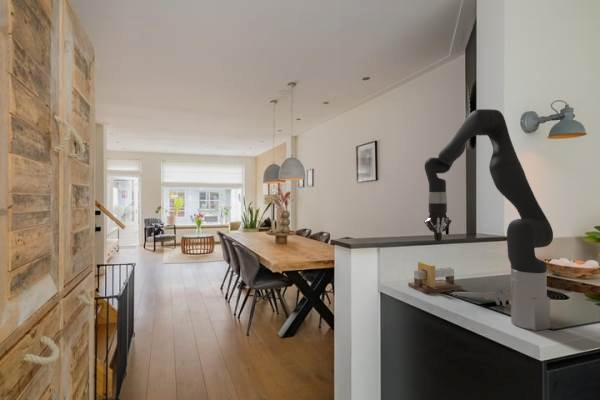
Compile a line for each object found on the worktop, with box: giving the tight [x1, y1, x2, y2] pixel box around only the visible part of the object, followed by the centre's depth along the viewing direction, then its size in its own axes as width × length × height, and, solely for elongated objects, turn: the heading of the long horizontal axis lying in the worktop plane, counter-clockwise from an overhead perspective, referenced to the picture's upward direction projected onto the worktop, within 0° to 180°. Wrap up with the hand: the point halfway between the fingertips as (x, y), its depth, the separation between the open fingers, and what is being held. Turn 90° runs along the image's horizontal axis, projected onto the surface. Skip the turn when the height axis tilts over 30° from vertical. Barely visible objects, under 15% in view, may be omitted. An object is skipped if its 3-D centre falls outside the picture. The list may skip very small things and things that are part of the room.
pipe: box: [413, 267, 455, 279], centre depth 145 cm, size 3×18×3 cm, turn 106°
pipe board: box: [407, 275, 463, 295], centre depth 146 cm, size 12×18×5 cm, turn 106°
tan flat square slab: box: [417, 261, 436, 287], centre depth 144 cm, size 9×2×9 cm, turn 16°
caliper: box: [450, 289, 507, 308], centre depth 129 cm, size 20×1×6 cm, turn 38°
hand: (438, 241), depth 149 cm, fingers closed
